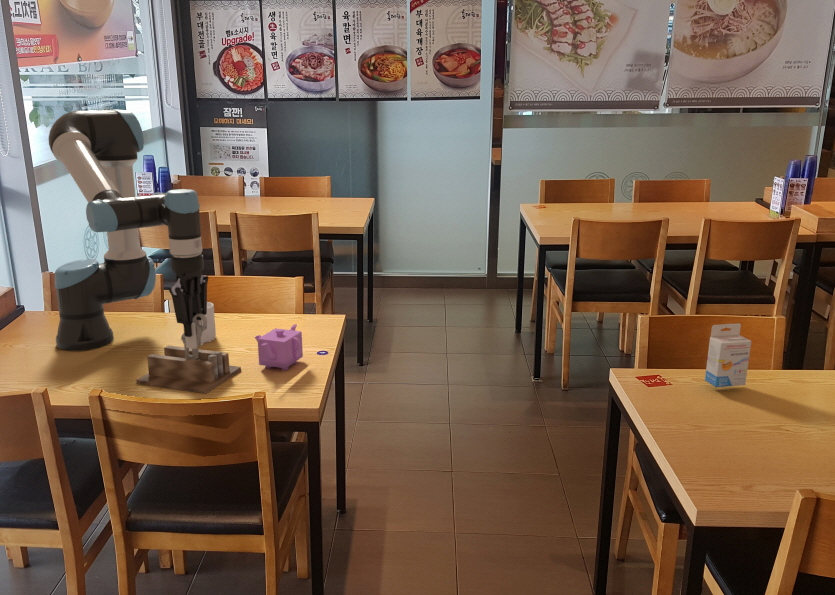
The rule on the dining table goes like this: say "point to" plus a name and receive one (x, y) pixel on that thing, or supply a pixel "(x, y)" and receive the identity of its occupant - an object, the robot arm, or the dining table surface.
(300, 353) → the teapot
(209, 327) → the mug
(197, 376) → the letter rack
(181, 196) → the robot arm
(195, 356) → the bracket
